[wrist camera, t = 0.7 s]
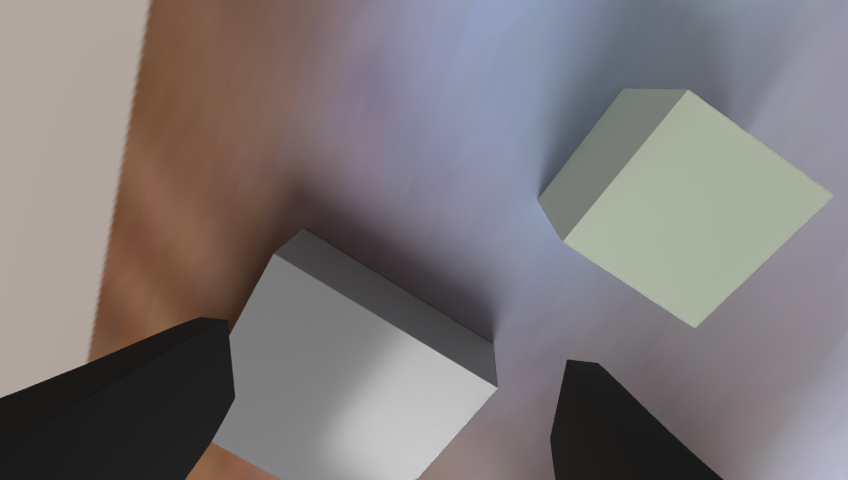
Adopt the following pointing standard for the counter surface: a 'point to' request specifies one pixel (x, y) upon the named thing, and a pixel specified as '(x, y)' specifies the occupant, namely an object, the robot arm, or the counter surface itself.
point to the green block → (677, 200)
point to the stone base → (347, 372)
